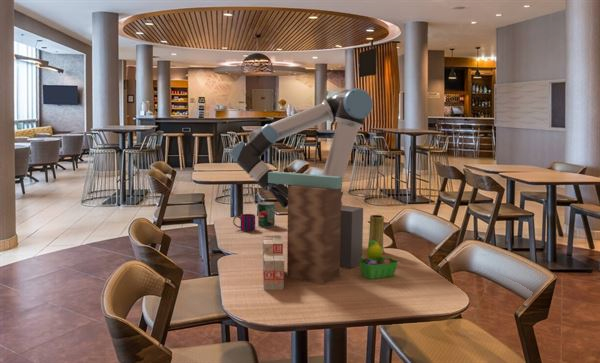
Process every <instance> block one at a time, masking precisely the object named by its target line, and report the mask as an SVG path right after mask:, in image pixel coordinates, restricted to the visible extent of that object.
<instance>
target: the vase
mask: <svg viewBox="0 0 600 363" xmlns="http://www.w3.org/2000/svg"><path fill="white" fill-rule="evenodd" d="M384 217H385V216H384V215H380V214H372V215H370V216H369V234H368V235H369V236H368V242H369V241H371V240H374V241H376V242H377V243H378V244H379V245H380V246H381V248H382V249H383V253H382V254H384V252H385V250H384V223H385V221H384V220H385V218H384Z"/></svg>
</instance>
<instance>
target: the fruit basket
mask: <svg viewBox="0 0 600 363" xmlns="http://www.w3.org/2000/svg"><path fill="white" fill-rule="evenodd" d="M383 250H384V248H383V249H382V248H381V246H380V245H379V244H378V243H377V242H376V241H374V240H371V241H369V240H368V246H367V249H366V256H367V257H368V258H362V259H361V260H359V263H360V264H359V266H360V271H361V273H362V276H364V277H366V278H367V277H368V278H367V279H369V280H373V279H381V278H388V277H393V276H394V274H395V272H396V268H397V266H398V263H399V261H398V260H396V259H394V258H391V257H389V256H382V255H383V254H384V253H383ZM387 276H388V277H387ZM380 277H381V278H380Z"/></svg>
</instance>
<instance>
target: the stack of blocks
mask: <svg viewBox="0 0 600 363" xmlns="http://www.w3.org/2000/svg"><path fill="white" fill-rule="evenodd" d="M283 245H284V243H283V240H282V235H262V279H263V281H262V282H263V290H264V291H272V290H273V291H276V290H277V291H279V290H281V291H282V290H284V289H285V288H284V286H285V257H284V251H283V248H284V247H283Z"/></svg>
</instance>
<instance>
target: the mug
mask: <svg viewBox="0 0 600 363" xmlns="http://www.w3.org/2000/svg"><path fill="white" fill-rule="evenodd" d="M237 218H238V219H240V226H239V225H237V224H235V223H236V222H235V220H236V219H237ZM232 223H233V225H234V227H236V228H239V229H240V231H243V232H254V231H256V215H255V214H253V213H242V214H240V216H238V215H237V216H234V218H233V222H232Z"/></svg>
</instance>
